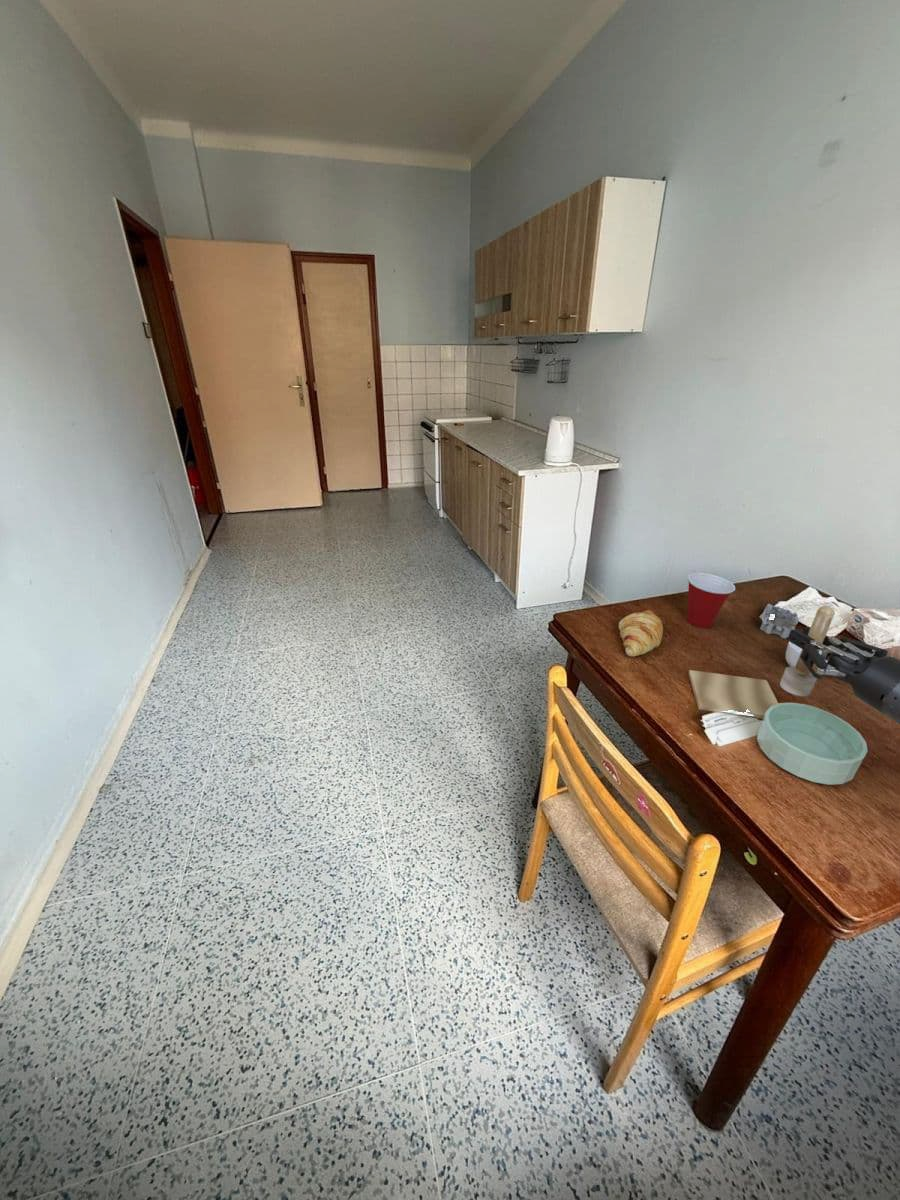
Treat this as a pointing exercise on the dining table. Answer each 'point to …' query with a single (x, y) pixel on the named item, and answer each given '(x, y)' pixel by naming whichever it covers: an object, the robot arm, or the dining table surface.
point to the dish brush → (799, 676)
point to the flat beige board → (731, 693)
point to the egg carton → (778, 621)
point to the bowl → (811, 743)
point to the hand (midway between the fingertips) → (797, 633)
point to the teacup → (794, 654)
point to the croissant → (640, 632)
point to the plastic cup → (706, 598)
